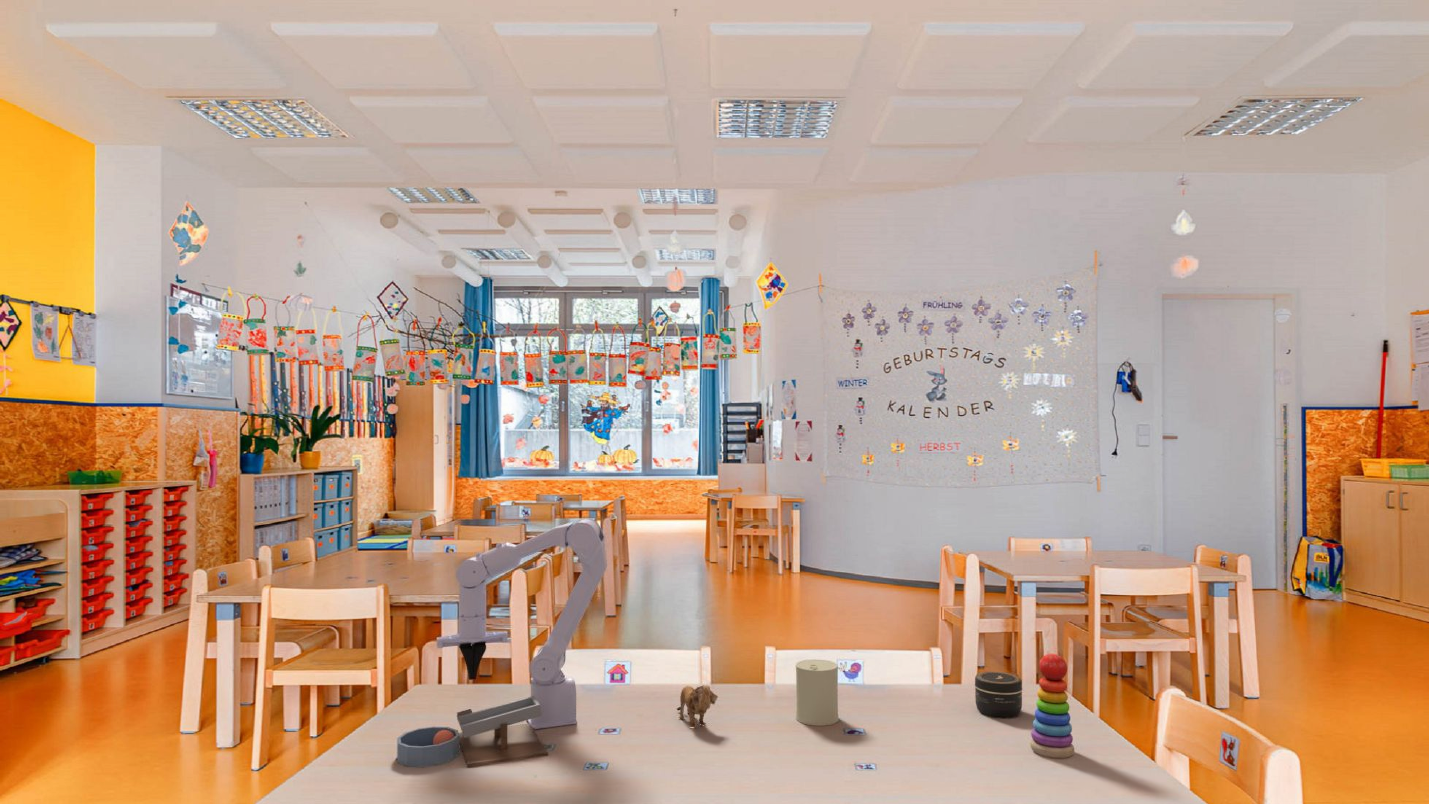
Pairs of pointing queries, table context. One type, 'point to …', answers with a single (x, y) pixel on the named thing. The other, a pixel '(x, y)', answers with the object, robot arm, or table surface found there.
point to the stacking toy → (1052, 711)
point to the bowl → (426, 747)
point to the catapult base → (501, 745)
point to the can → (817, 692)
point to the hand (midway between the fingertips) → (472, 678)
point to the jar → (998, 694)
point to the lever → (498, 716)
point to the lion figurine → (696, 702)
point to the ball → (442, 737)
